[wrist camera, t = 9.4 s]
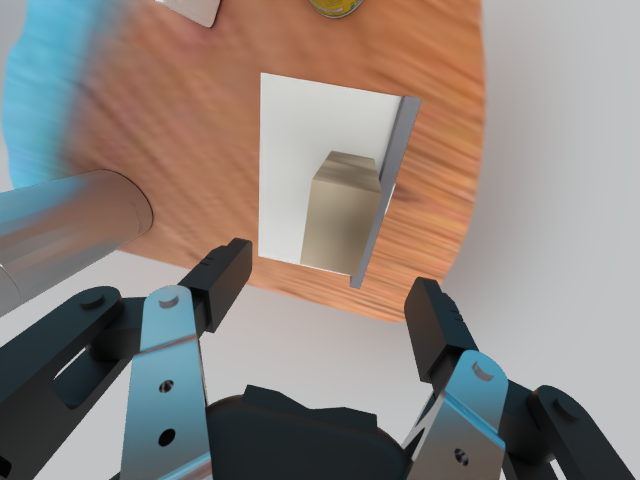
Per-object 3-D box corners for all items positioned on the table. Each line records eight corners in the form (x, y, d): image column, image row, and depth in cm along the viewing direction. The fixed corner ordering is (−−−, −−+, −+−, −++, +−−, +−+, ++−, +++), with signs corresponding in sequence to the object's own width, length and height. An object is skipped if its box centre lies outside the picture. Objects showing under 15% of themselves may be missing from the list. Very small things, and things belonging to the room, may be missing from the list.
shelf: (264, 247, 31) (251, 265, 27) (269, 75, 21) (251, 69, 17) (361, 268, 30) (361, 289, 27) (414, 100, 20) (424, 99, 17)
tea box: (321, 208, 25) (299, 263, 16) (331, 150, 21) (312, 179, 13) (359, 217, 24) (358, 277, 16) (375, 159, 21) (385, 194, 13)
